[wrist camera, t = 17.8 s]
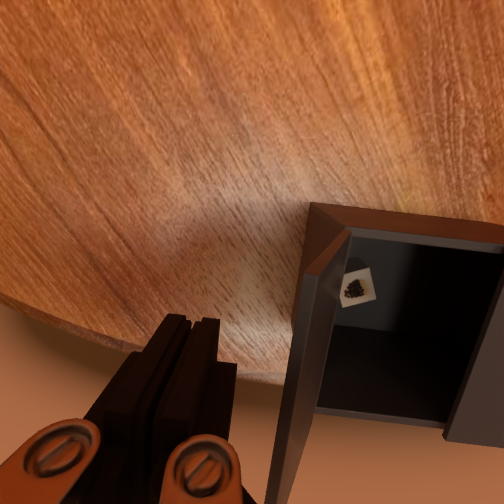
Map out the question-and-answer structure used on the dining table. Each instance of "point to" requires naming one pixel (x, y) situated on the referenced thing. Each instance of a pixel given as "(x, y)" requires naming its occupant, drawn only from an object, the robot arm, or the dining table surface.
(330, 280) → the flap
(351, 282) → the cube with dark pebbles
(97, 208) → the dining table surface
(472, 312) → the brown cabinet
